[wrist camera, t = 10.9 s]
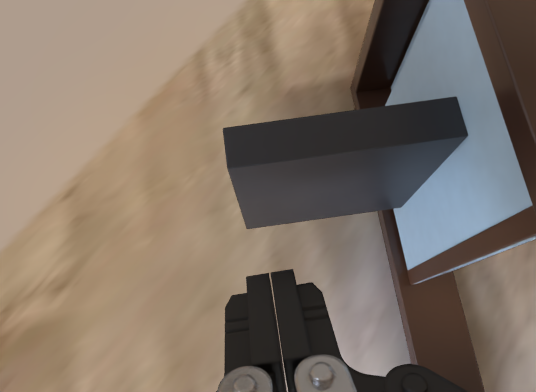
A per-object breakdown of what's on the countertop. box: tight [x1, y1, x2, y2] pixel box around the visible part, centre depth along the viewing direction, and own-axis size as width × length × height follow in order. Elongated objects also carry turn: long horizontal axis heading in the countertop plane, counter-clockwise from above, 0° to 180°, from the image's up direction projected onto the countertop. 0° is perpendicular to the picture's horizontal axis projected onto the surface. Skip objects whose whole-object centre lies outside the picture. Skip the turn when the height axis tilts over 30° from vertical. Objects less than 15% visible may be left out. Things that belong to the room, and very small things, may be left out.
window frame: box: [350, 0, 536, 392], centre depth 19 cm, size 22×3×16 cm, turn 8°
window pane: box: [223, 0, 536, 285], centre depth 19 cm, size 10×9×13 cm
